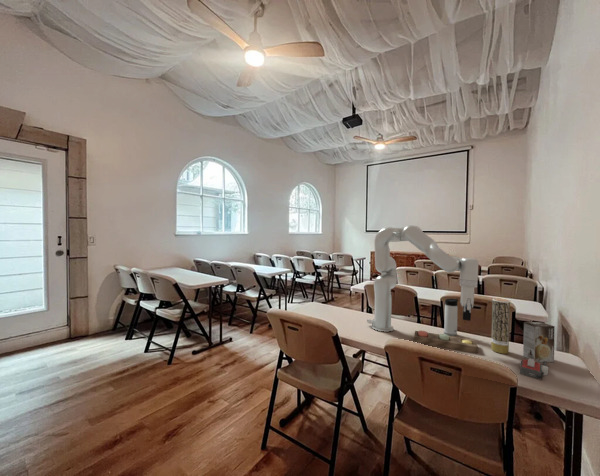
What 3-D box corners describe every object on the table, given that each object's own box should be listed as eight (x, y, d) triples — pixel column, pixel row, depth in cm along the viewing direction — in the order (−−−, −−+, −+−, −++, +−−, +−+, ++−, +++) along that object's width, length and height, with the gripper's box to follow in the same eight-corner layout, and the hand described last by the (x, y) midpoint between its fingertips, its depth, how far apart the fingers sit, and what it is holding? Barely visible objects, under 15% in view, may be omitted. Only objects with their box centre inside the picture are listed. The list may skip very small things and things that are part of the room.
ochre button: (462, 348, 135) (462, 342, 135) (461, 345, 139) (461, 339, 139) (472, 350, 133) (472, 343, 133) (471, 346, 137) (471, 340, 137)
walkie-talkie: (548, 384, 104) (548, 365, 119) (549, 372, 104) (548, 355, 119) (519, 375, 110) (522, 359, 125) (519, 364, 110) (522, 349, 125)
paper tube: (511, 355, 129) (513, 301, 128) (495, 353, 130) (497, 301, 129) (503, 349, 135) (505, 298, 135) (488, 347, 136) (489, 297, 136)
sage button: (439, 341, 139) (439, 335, 139) (439, 338, 143) (439, 333, 143) (449, 343, 137) (449, 337, 137) (448, 340, 141) (448, 334, 141)
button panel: (413, 342, 142) (414, 336, 142) (414, 336, 151) (415, 330, 151) (477, 353, 130) (478, 347, 130) (474, 345, 139) (475, 339, 139)
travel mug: (459, 336, 151) (460, 300, 151) (446, 335, 152) (447, 299, 152) (455, 332, 157) (456, 298, 157) (442, 331, 158) (443, 297, 158)
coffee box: (541, 355, 128) (542, 321, 128) (554, 362, 122) (555, 326, 122) (522, 355, 128) (523, 321, 128) (534, 362, 121) (535, 326, 121)
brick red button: (418, 338, 144) (418, 332, 143) (418, 335, 147) (418, 330, 147) (427, 339, 142) (427, 334, 142) (427, 337, 146) (427, 331, 146)
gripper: (458, 280, 144) (456, 314, 144) (461, 284, 130) (459, 322, 131) (475, 281, 141) (473, 317, 141) (479, 286, 127) (477, 325, 128)
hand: (466, 319), depth 136 cm, fingers closed
